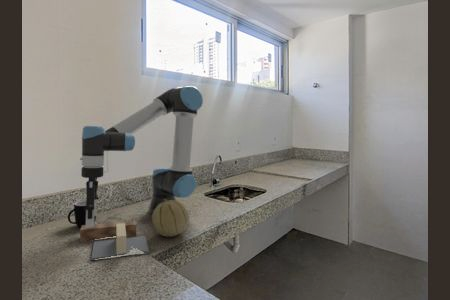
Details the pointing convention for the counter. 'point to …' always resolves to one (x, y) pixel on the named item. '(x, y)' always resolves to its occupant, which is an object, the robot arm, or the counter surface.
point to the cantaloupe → (170, 218)
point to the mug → (79, 214)
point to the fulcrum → (119, 244)
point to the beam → (106, 230)
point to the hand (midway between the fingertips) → (91, 221)
